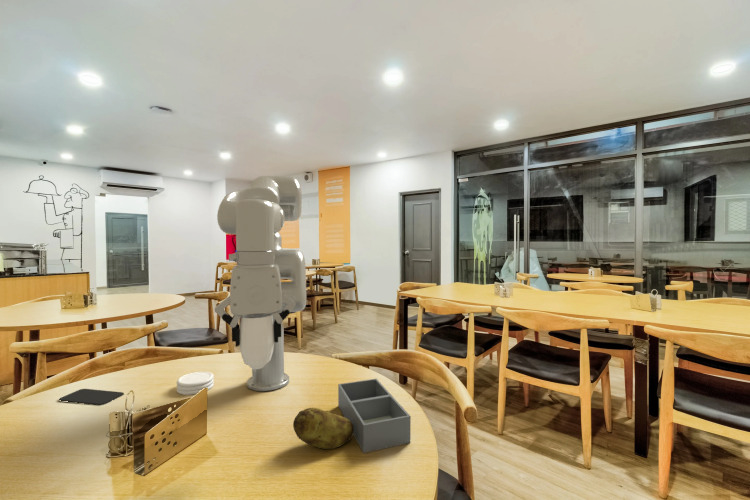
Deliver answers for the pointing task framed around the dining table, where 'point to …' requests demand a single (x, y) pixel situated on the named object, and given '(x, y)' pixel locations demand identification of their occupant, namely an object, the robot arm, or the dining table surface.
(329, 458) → the dining table surface
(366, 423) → the divided open storage box
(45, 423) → the dining table surface
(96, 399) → the phone
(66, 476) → the dining table surface
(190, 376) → the coaster
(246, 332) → the cup
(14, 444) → the dining table surface
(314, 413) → the potato
